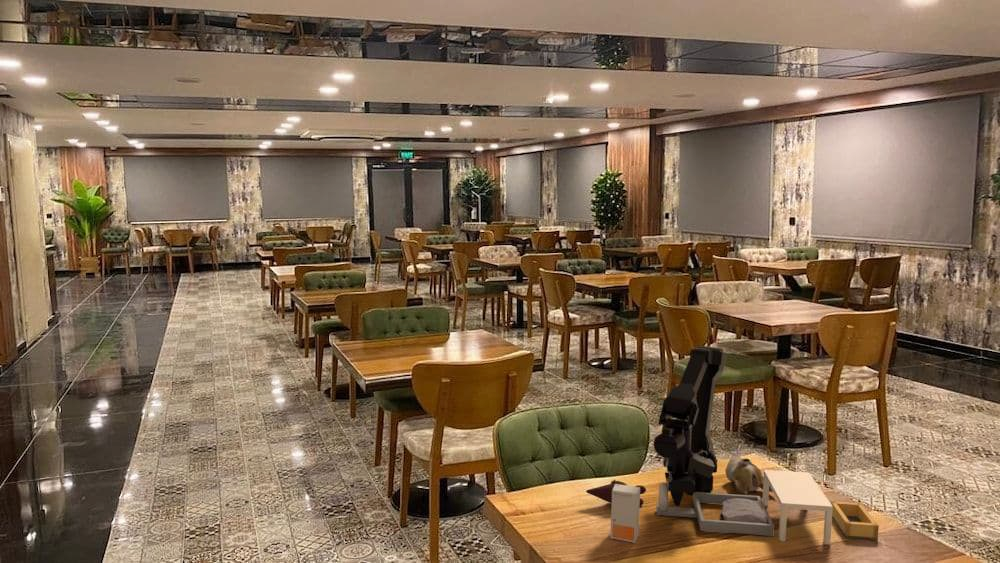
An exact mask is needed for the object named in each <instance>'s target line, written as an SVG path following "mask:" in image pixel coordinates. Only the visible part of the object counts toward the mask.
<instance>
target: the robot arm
mask: <svg viewBox="0 0 1000 563" xmlns="http://www.w3.org/2000/svg"><path fill="white" fill-rule="evenodd" d="M727 354H728V353H727V352H724V349H723V348H722V347H716V346H715V347H714V346H707V345H706V346H705V345H699V346H698V347H694V348H693V347H692V348H691V350H690V353H689V359H688V362H687V364H686V366H685V368H684V370H683V374H682V376H681V378H680V381H679V383H678V385H676V386H675V387H673V388H671V389H670V390H669V393H668V394H667V396H666V397H665V398H664V400H663V403H662V406H661V411H660V415H659V418H658V423H657V424H658V425H662V426H664V427H663V428H662V430H661V433H660V434H658V435H656V437H655V439H654V441H653V449H654V451H655V453H656V454H657V455H658V456H660V457H661V458H662V466H663V467H664V468H666V471H667V472H664V477H665V483H667V487H668V492H669V493H670V495H671V498H672V501H673V504H674V507H680V505H681V503H682V499H683V496H684V494H687V495H693V493H695V492H705V493H712V491H713V490H714V475H713V474H715V473H717V472H718V459H717V456H716V454H715V451H714V443H713V441H712V439H711V436H710V427H711V420H712V413H713V412H712V411H713V402H714V397H715V390H716V389H715V388H716V381H717V380H718V379H719V377H720V376H721V375H722V374H723V372H724V369H725V366H726V365H727V361H728V355H727Z"/></svg>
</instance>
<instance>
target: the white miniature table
mask: <svg viewBox="0 0 1000 563" xmlns="http://www.w3.org/2000/svg"><path fill="white" fill-rule="evenodd" d="M769 485H770V487H771V489H772V491H773V492H772V493H773V494H774V496H775V498H776V500H777V503H778V504H779V505H780V509H779V512H780V513H779V526H778V527H779V529H778V530H779V531H778V540H779V542H786V538H787V523H788V522H787V518H788V517H787V516H788V509H789V510H790V509H792V510H803V511H805V510H806V511H818V512H819V511H820V512H824V521H823V522H824V524H823V541H822V542H823V544H824V545H829V546H831V539H832V526H833V525H832V524H833V523H832V522H833V519H832V510H833V506H832V505H831V501H830V500H829V499H828V498H827V496H826V494H824V492H823V491H822V489H821V488H820V486H819V485H818V483H817V482H816V480H815V479H814V478H813V476H812V475H811V473H810V472H807V471H806V472H805V471H804V472H803V471H792V470H791V471H789V470H772V469H771V470H769V469H763V490H762V498H761V500H762V502H763V504H764V506H765V507H768V506H769V497H770V496H769V495H770V492H769Z"/></svg>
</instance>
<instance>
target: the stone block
mask: <svg viewBox="0 0 1000 563" xmlns="http://www.w3.org/2000/svg"><path fill="white" fill-rule="evenodd" d="M721 514H722V517H723V521H735V522H749V523H763V524H767V515H766V512H765V511H764V509H762V507H761V504H760V501H752V500H747V499H740V498H739V499H737V498H735V499H730V500H727V501H724V502H723V504H722V509H721Z"/></svg>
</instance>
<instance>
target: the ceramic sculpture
mask: <svg viewBox="0 0 1000 563" xmlns="http://www.w3.org/2000/svg"><path fill="white" fill-rule="evenodd" d="M725 476H726V478H727V480H729V482H733V485H734V487H735V489H736V490H735V491H737V493H739V494H740V495H749V492H753V491H757V490H758V489H761V490H762V491H763V477H764V475H763V473H762V471H761V469H760V468H759V467H758V466H757V465H755V464H754V463H753V462H752V460H750V459H749V458H742V457H741V456H738V455H736V454H735V453H733V454H731V457H730V458H729V460H728V462H727V466H726V467H725ZM769 493H773V491H772V489H771V487H770V485H769Z"/></svg>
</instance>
